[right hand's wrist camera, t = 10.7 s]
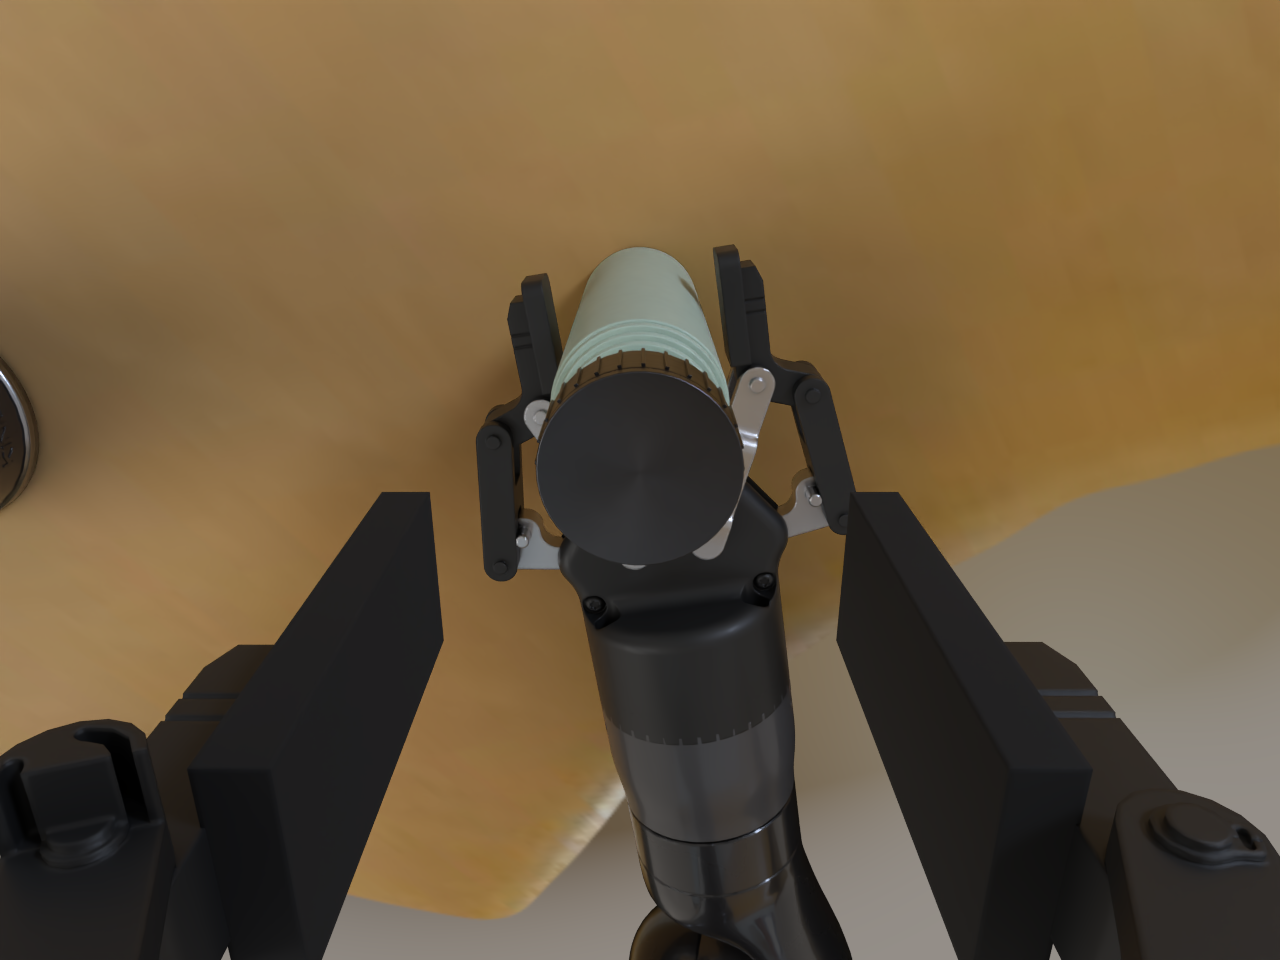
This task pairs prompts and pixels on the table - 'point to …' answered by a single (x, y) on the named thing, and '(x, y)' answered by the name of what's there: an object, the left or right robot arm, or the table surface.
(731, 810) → the left robot arm
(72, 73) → the table surface
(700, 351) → the bottle
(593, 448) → the cap
